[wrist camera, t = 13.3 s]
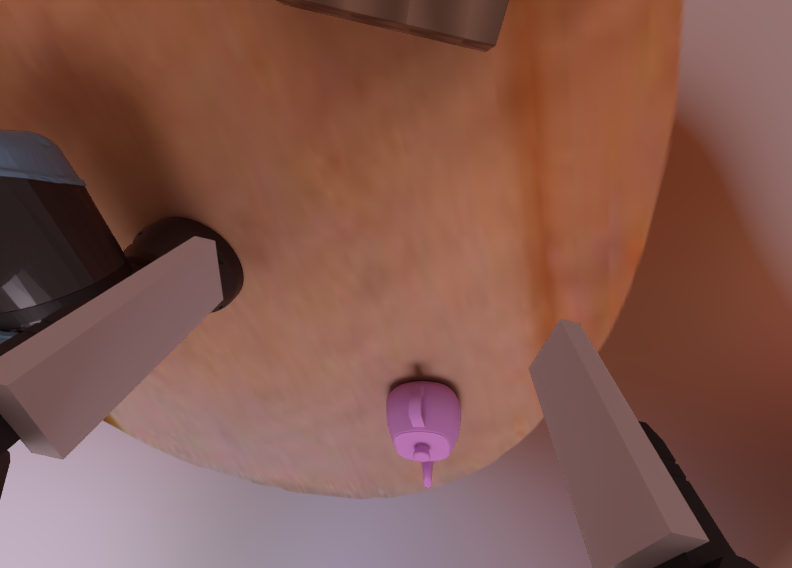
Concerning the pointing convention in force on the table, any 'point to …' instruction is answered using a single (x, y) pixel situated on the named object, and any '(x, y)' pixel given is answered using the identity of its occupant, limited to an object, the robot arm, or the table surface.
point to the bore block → (422, 17)
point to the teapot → (423, 422)
